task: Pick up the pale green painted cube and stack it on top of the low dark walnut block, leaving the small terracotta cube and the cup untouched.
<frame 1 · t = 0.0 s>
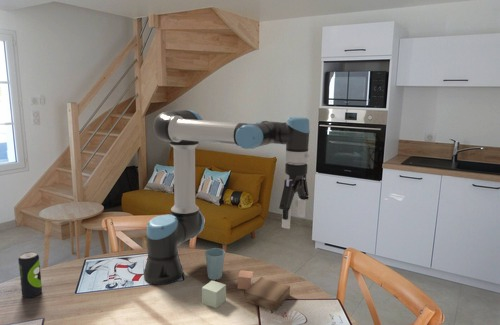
hand: (293, 222, 132), 28 cm above the table, fingers open, 13 cm apart
cup: (215, 276, 149), on the table
beverage can: (32, 294, 134), on the table
terracotta cube: (245, 286, 142), on the table
pale green cube: (214, 301, 132), on the table
walnut block: (267, 299, 135), on the table
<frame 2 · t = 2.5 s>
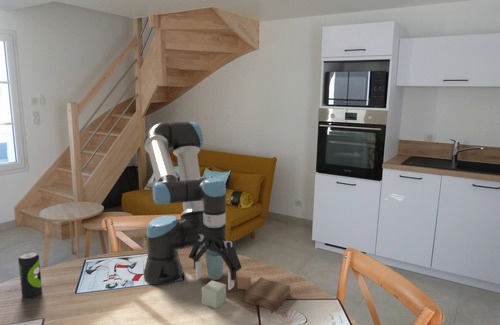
hand: (214, 282, 130), 7 cm above the table, fingers open, 13 cm apart
nothing on the table moved.
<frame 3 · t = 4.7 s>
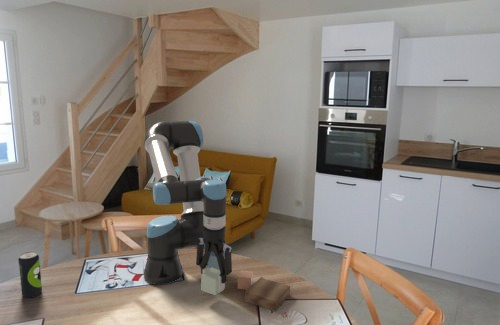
hand: (213, 287, 131), 5 cm above the table, fingers closed on pale green cube, 6 cm apart
pale green cube: (213, 288, 131), point 4 cm above the table, touching gripper
everything else where it was.
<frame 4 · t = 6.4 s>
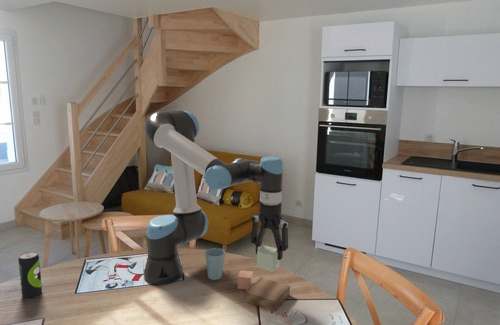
hand: (268, 265, 132), 13 cm above the table, fingers closed on pale green cube, 6 cm apart
pale green cube: (268, 266, 132), point 12 cm above the table, touching gripper
everything else where it was.
when the fingers open (5 cm above the table, at t = 8.0 s): pale green cube drops 1 cm, resting on walnut block.
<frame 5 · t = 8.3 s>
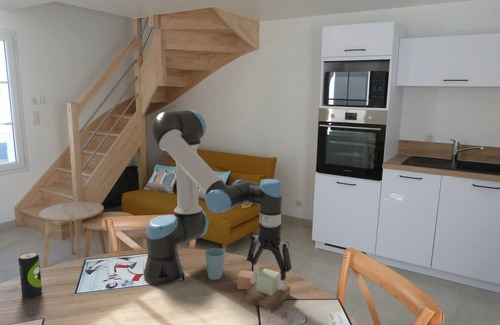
hand: (268, 283, 134), 6 cm above the table, fingers open, 9 cm apart
pale green cube: (267, 289, 134), point 3 cm above the table, touching walnut block
walnut block: (267, 299, 135), on the table, touching pale green cube
everything else where it was.
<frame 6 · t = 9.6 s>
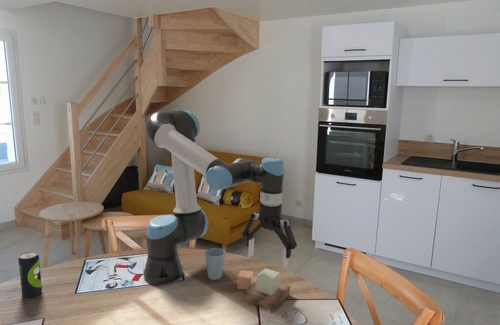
hand: (267, 260, 132), 14 cm above the table, fingers open, 13 cm apart
pale green cube: (267, 289, 134), point 3 cm above the table
walnut block: (267, 299, 135), on the table
everything else where it was.
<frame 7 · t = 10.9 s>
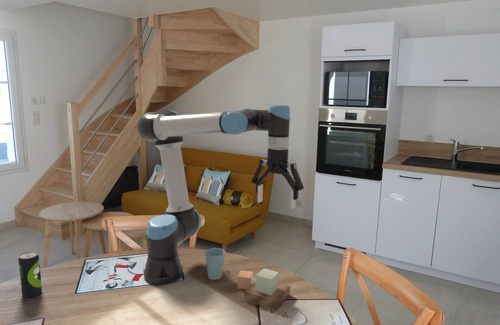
hand: (276, 204, 139), 32 cm above the table, fingers open, 13 cm apart
pale green cube: (267, 289, 134), point 3 cm above the table, touching walnut block
walnut block: (267, 299, 135), on the table, touching pale green cube
everything else where it was.
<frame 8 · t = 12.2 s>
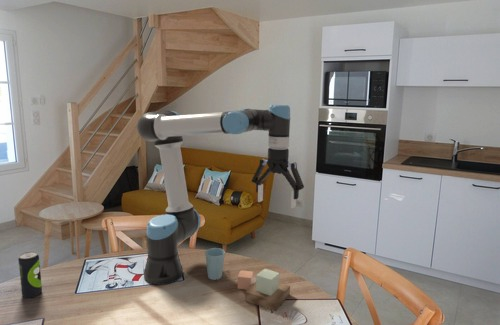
hand: (276, 204, 139), 32 cm above the table, fingers open, 13 cm apart
pale green cube: (267, 289, 134), point 3 cm above the table
walnut block: (267, 299, 135), on the table
everything else where it was.
at the end: pale green cube inside the target area on the walnut block (0.5 cm from its centre), point 4.0 cm above the walnut block's base; pale green cube tilted 0°; the gripper is holding nothing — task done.
